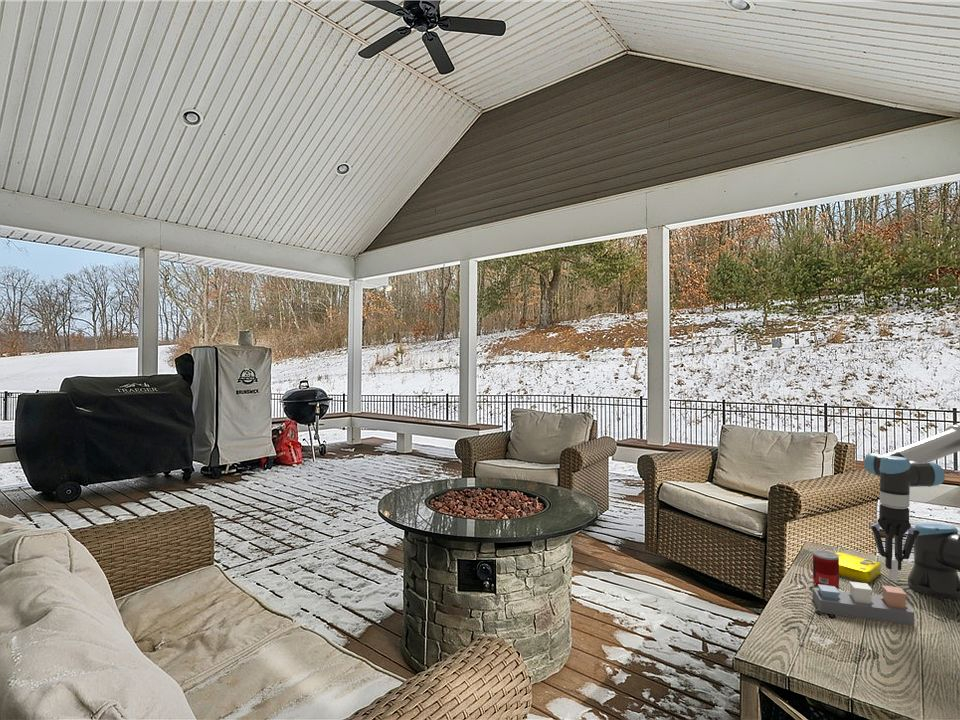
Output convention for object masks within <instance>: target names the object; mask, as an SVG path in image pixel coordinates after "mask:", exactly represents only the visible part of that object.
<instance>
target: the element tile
mask: <svg viewBox="0 0 960 720" xmlns="http://www.w3.org/2000/svg"><path fill="white" fill-rule="evenodd" d="M834 553H835V554H837V555H838V556H839V576H842V577H844V578H845V577H846V578H849V579H853V580H856V581H860V582H862V583H871V582H872V581H874V580H875V579H876V578H877V577H879V576H880V575H881V572H882V570H881V567H882V565H881V562H879V561H875V560H872V559H869V558H864V557H860V556H856V555H854V554H849V553H845V552H840V551H838V552H834Z"/></svg>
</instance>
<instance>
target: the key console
mask: <svg viewBox="0 0 960 720" xmlns="http://www.w3.org/2000/svg"><path fill="white" fill-rule="evenodd" d="M838 591H839V593H840V595H839V600H835V599H828V598H821V597H820V595H819V588H818V587H812V601H813V602H814V604H815V606H816V608H817V609H818V611H819V613H821V614H827V615H835V616H842V617H843V616H844V617H850V618H856V619H865V620H871V621H880V622H885V623H886V622H887V623H893V624H902V625H907V626H915V612H914V611H913V609H912V608H910V607H909V605H907V603H906V609H905V608H897V607H889V606H887V605H886V604H885V603H884V602H883V595H876V594H871V604H866V603H859V602H854V601H853V600H852V598H851V597H850V591H844V590H843V591H842V590H838Z"/></svg>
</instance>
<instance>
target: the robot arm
mask: <svg viewBox="0 0 960 720" xmlns="http://www.w3.org/2000/svg"><path fill="white" fill-rule="evenodd" d="M958 452H960V422H959V423H955V424H953V425H950V426H947V427H946V428H945V429H944V431H943V432H940V433H937V434H935V435H932V436H930V437H926V438H924V439H921V440H919V441H916V442H913V443H911V444H908V445H905V446H902V447H899V448H897V449H895V450H891V451H889V452H886V453H883V454H881V453H880V452H878V453H876V452H875V453H874V452H871V453H868V454H867V455H866V457H865V458H864V462H863V465H864V470H866V472H868V473H869V474H872V475H874V476H877V477H879V503H880V504H879V505H878V507H879V510H878V511H879V513H878V514H879V517H878V519H877V521H876V522H875V523H870V524H869V525H868V527H869V528H870V530H871V531H872V534H873V536H874V541H875V544H876V548H877V552H878V554H879V555H880V556H881V557H883V558H885V559H884V561H885V562H884V563H885V567H886V569H887V570H888V578H889V579H890V580H891V581H894V582H899V581H898V580H899V576H898V575H899V572H898V571H901V570H902V562H903V561H904V560H909V559H910V557H911V553H912V550H913V566H912V568H911V570H910V572H909V574H908V577H907V586H908V587H909V588H910V589H912V590H914V591H916V592H918V593H921V594H924V595H927V596H931V597H933V598H940V599H943V600H944V599H945V600H960V576H959V574H958V571H959V572H960V534H959V530H958V528H957V527H955V526H953V525H950V524H949V525H948V524H942V523H918V524H916V525H915V526H914V527H912V526H911V522H910V508H909V507H910V494H911V493H910V492H911V491H910V489H911V488H913V487H918V488H919V487H920V488H921V487H935V486H939V485H941V484H943V483H944V481H945V479H946V476H945V471H944V469H943V468H942V466H941V465H939V464H937V463H936V462H934V461H936V460H939V459H942V458H944V457H947V456H950V455H952V454H955V453H958ZM880 529H881V530H882V531H883V532H884V542H883V540H882V537H881V533H880ZM906 532H908V534H907V535H906V537H905V540H904V535H905V534H906ZM893 539H894V540H893ZM903 540H904V541H905V542H904V545H903ZM893 541H894V542H893ZM883 543H884V544H883ZM893 544H894V557H893Z"/></svg>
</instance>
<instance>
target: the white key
mask: <svg viewBox="0 0 960 720" xmlns="http://www.w3.org/2000/svg"><path fill="white" fill-rule="evenodd" d="M848 583H849V586H850V587H849V588H850V591H849V592H850V597H851V598H852V600H853V601H854V602H859V603H866V604H871V595H872V593H873V592H874V591H873V588H872V587H871V586H870V585H869V584H868V583H867V582H858V581H851V580H850V581H849V582H848Z"/></svg>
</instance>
